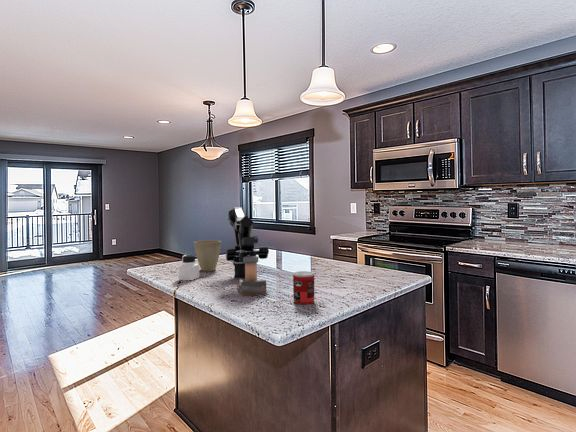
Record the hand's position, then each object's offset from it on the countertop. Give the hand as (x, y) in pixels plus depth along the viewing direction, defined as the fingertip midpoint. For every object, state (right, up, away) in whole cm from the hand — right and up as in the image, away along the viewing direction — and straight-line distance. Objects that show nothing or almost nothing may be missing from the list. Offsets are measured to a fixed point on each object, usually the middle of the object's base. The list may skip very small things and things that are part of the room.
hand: (249, 269), depth 156 cm
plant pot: (-28, -7, +44) cm, 52 cm away
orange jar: (+1, -7, -2) cm, 8 cm away
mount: (+1, -9, -2) cm, 9 cm away
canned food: (+23, -10, -19) cm, 31 cm away
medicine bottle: (-32, -8, +22) cm, 40 cm away
